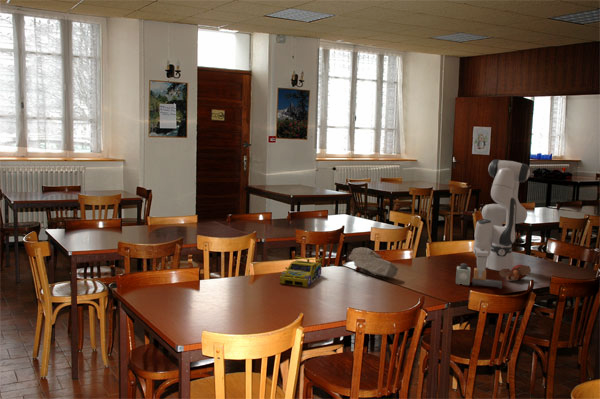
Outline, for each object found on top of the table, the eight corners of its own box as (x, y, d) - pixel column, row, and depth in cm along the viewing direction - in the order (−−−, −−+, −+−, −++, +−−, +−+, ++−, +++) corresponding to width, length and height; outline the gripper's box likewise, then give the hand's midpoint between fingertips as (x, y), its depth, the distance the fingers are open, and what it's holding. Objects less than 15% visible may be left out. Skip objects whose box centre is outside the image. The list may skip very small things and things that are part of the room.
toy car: (278, 284, 297) (279, 264, 296) (295, 272, 323) (295, 254, 322) (308, 288, 292) (309, 268, 291) (322, 276, 318) (323, 257, 317)
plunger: (460, 272, 316) (460, 263, 316) (466, 272, 316) (467, 263, 315) (460, 273, 313) (460, 264, 313) (466, 274, 312) (467, 265, 312)
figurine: (528, 283, 314) (541, 273, 323) (522, 268, 314) (535, 258, 323) (497, 288, 329) (510, 278, 338) (491, 273, 329) (504, 264, 338)
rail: (472, 282, 316) (472, 277, 316) (501, 285, 312) (501, 280, 312) (472, 285, 311) (472, 279, 311) (502, 288, 307) (502, 282, 307)
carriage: (473, 280, 316) (474, 267, 315) (484, 282, 314) (486, 269, 313) (473, 283, 311) (474, 269, 310) (485, 284, 309) (486, 271, 309)
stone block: (393, 286, 313) (404, 262, 317) (381, 278, 308) (393, 253, 311) (351, 274, 341) (361, 251, 344) (339, 266, 335) (351, 243, 339)
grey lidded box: (455, 280, 320) (457, 266, 319) (469, 281, 318) (470, 267, 317) (455, 284, 312) (456, 269, 311) (469, 285, 310) (470, 270, 309)
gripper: (475, 246, 321) (473, 270, 323) (476, 253, 302) (474, 279, 303) (487, 247, 320) (485, 272, 321) (488, 254, 300) (486, 280, 302)
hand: (479, 275), depth 312 cm, fingers open, 5 cm apart
